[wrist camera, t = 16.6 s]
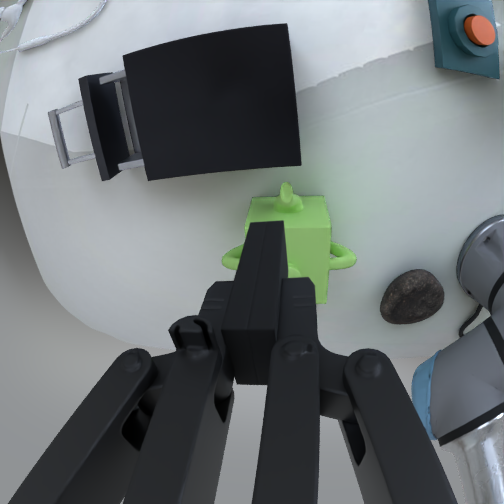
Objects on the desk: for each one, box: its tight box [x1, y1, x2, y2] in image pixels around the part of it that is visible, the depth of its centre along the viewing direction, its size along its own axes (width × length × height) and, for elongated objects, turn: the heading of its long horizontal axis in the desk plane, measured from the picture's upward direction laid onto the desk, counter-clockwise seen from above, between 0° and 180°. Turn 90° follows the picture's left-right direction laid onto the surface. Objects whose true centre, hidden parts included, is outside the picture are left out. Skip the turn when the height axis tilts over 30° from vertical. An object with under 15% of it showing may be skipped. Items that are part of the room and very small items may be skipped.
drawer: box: [48, 69, 144, 181], centre depth 31 cm, size 22×13×6 cm, turn 97°
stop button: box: [464, 15, 495, 45], centre depth 20 cm, size 4×4×2 cm
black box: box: [123, 23, 301, 181], centre depth 29 cm, size 16×14×8 cm
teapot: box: [222, 182, 357, 304], centre depth 37 cm, size 15×13×11 cm
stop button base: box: [428, 0, 500, 79], centre depth 22 cm, size 11×9×4 cm
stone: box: [380, 269, 444, 324], centre depth 42 cm, size 11×11×5 cm
